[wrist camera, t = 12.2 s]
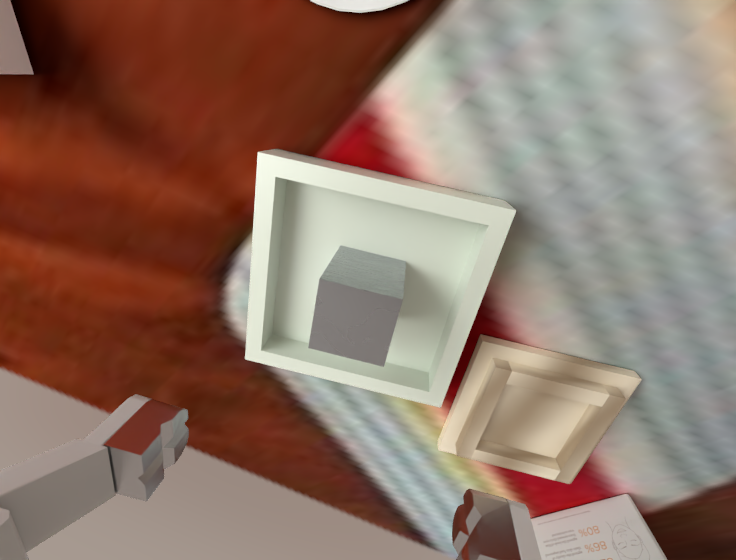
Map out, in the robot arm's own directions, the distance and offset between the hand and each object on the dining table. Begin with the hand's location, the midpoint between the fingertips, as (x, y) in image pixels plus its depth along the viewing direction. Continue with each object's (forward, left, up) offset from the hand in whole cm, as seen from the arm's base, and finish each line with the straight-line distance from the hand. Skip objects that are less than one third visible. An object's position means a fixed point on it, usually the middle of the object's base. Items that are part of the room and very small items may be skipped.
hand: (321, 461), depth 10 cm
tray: (0, 0, -13) cm, 13 cm away
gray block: (0, 0, -13) cm, 13 cm away
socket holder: (-13, +7, -13) cm, 20 cm away
